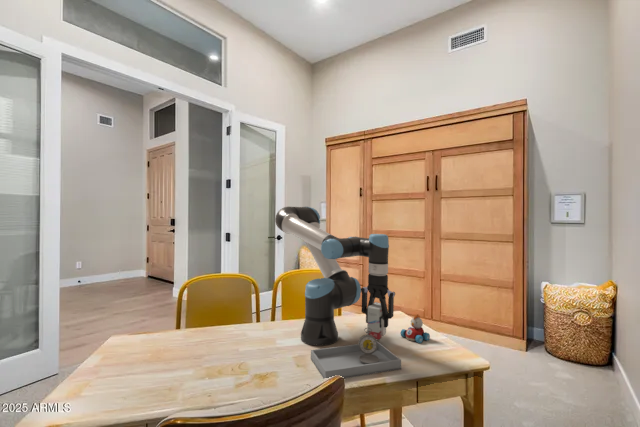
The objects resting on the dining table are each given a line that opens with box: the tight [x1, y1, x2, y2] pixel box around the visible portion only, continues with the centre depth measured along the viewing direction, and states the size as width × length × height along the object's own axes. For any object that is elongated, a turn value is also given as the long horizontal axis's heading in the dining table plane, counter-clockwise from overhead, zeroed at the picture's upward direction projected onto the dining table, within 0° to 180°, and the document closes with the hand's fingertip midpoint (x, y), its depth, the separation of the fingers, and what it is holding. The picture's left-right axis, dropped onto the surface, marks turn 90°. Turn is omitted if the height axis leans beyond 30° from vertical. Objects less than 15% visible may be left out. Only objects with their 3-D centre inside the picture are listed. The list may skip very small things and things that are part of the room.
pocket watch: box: [357, 327, 379, 364], centre depth 110 cm, size 8×8×10 cm
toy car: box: [400, 313, 431, 344], centre depth 131 cm, size 9×9×10 cm
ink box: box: [366, 301, 388, 341], centre depth 125 cm, size 9×5×12 cm, turn 148°
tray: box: [310, 340, 402, 379], centre depth 108 cm, size 26×16×3 cm, turn 108°
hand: (376, 333), depth 125 cm, fingers closed on ink box, 5 cm apart
